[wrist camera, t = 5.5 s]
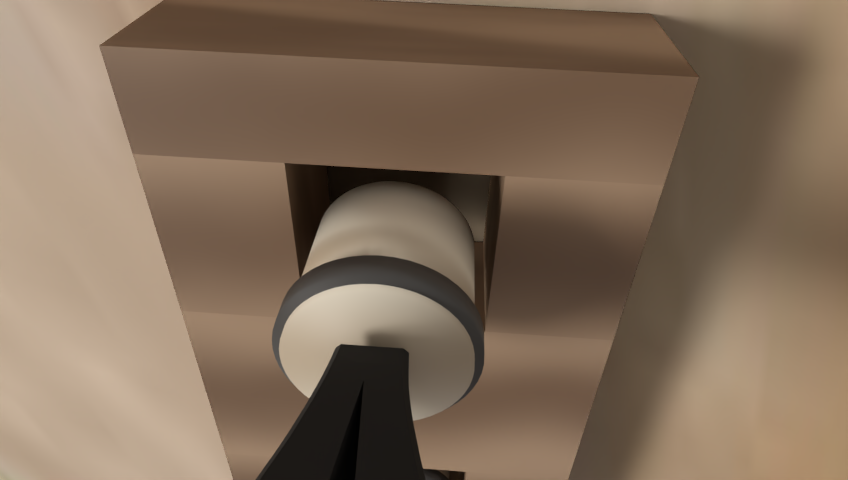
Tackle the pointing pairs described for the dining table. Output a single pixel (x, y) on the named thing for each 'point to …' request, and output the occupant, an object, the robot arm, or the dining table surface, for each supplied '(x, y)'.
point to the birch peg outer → (388, 293)
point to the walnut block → (417, 151)
